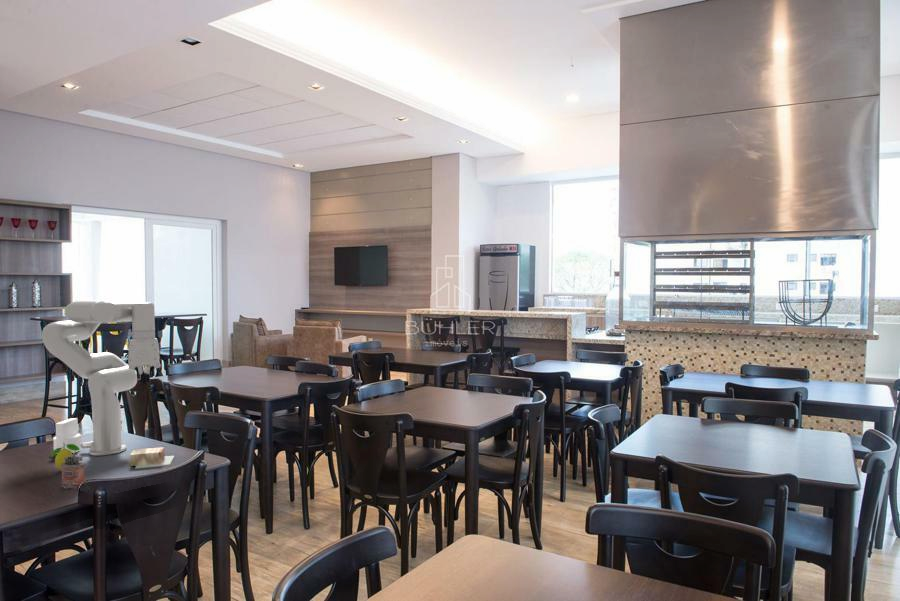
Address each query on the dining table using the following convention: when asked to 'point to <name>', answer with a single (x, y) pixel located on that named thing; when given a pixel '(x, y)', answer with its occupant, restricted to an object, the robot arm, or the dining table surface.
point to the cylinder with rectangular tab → (67, 434)
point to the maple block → (147, 456)
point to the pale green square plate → (165, 462)
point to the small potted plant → (72, 472)
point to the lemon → (63, 454)
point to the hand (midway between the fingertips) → (145, 384)
